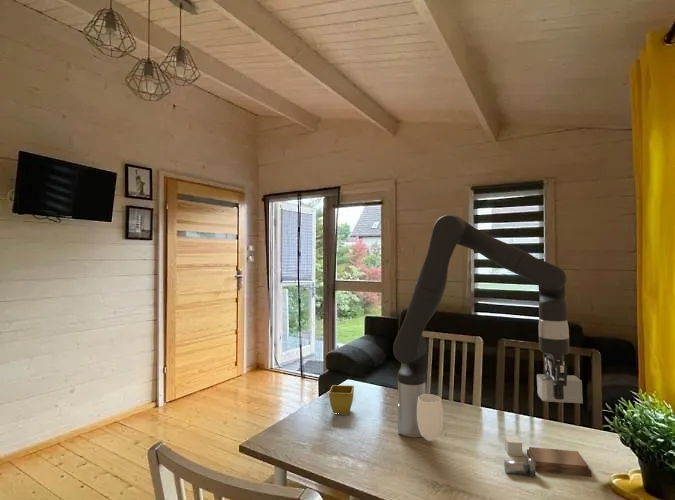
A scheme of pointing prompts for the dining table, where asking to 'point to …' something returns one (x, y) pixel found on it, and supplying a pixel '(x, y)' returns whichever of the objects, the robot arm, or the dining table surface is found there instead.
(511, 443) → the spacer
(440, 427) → the cup
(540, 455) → the stand
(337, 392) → the flower pot
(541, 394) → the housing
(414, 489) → the dining table surface
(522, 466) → the bolt
